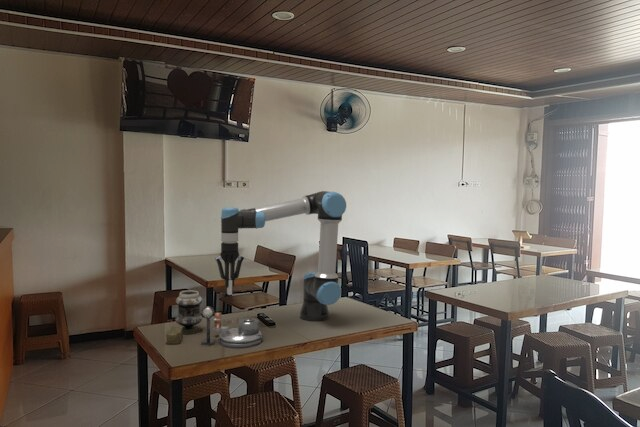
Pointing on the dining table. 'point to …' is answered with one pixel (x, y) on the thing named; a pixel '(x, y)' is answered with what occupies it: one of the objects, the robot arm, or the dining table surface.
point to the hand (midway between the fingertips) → (229, 294)
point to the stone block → (174, 335)
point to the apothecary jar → (189, 311)
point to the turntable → (232, 333)
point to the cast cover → (248, 326)
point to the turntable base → (239, 345)
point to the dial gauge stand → (208, 325)
